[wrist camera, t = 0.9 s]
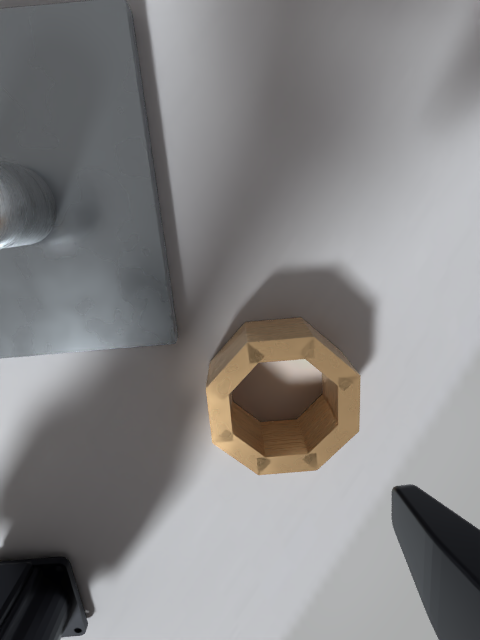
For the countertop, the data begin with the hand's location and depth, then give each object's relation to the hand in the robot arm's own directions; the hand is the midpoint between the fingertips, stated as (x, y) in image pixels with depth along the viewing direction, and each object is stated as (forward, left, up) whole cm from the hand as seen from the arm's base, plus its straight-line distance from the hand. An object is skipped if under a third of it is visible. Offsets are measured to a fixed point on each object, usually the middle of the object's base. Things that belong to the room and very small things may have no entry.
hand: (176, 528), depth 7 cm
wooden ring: (-3, -3, -12) cm, 12 cm away
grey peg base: (+7, +8, -12) cm, 16 cm away
